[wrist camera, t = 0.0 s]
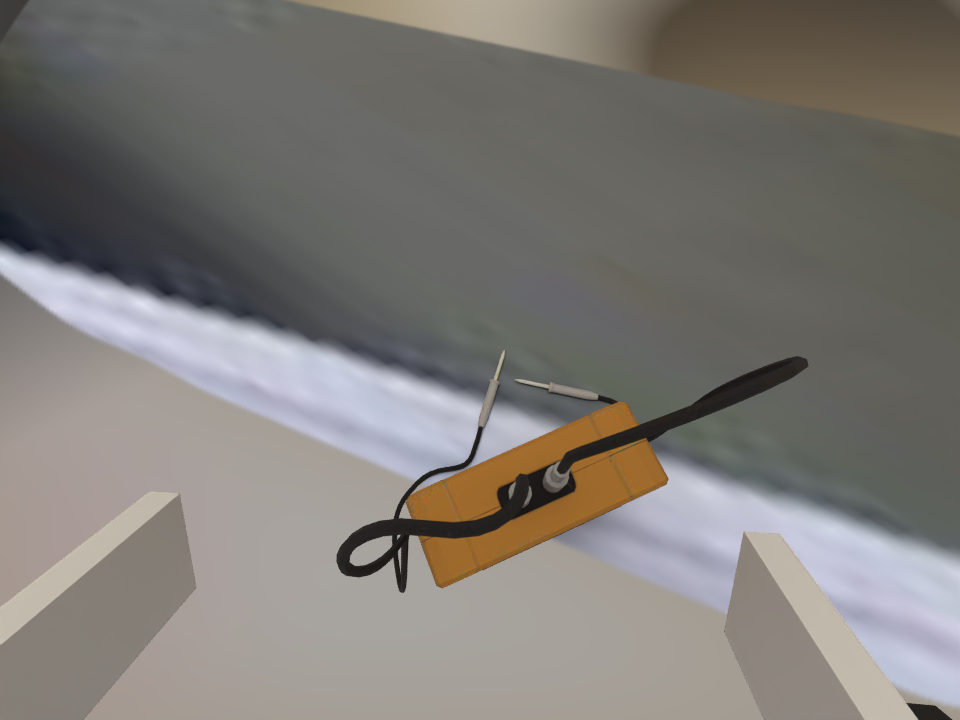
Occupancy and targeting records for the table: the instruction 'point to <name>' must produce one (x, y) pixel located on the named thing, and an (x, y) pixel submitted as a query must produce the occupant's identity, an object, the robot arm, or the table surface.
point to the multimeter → (540, 483)
